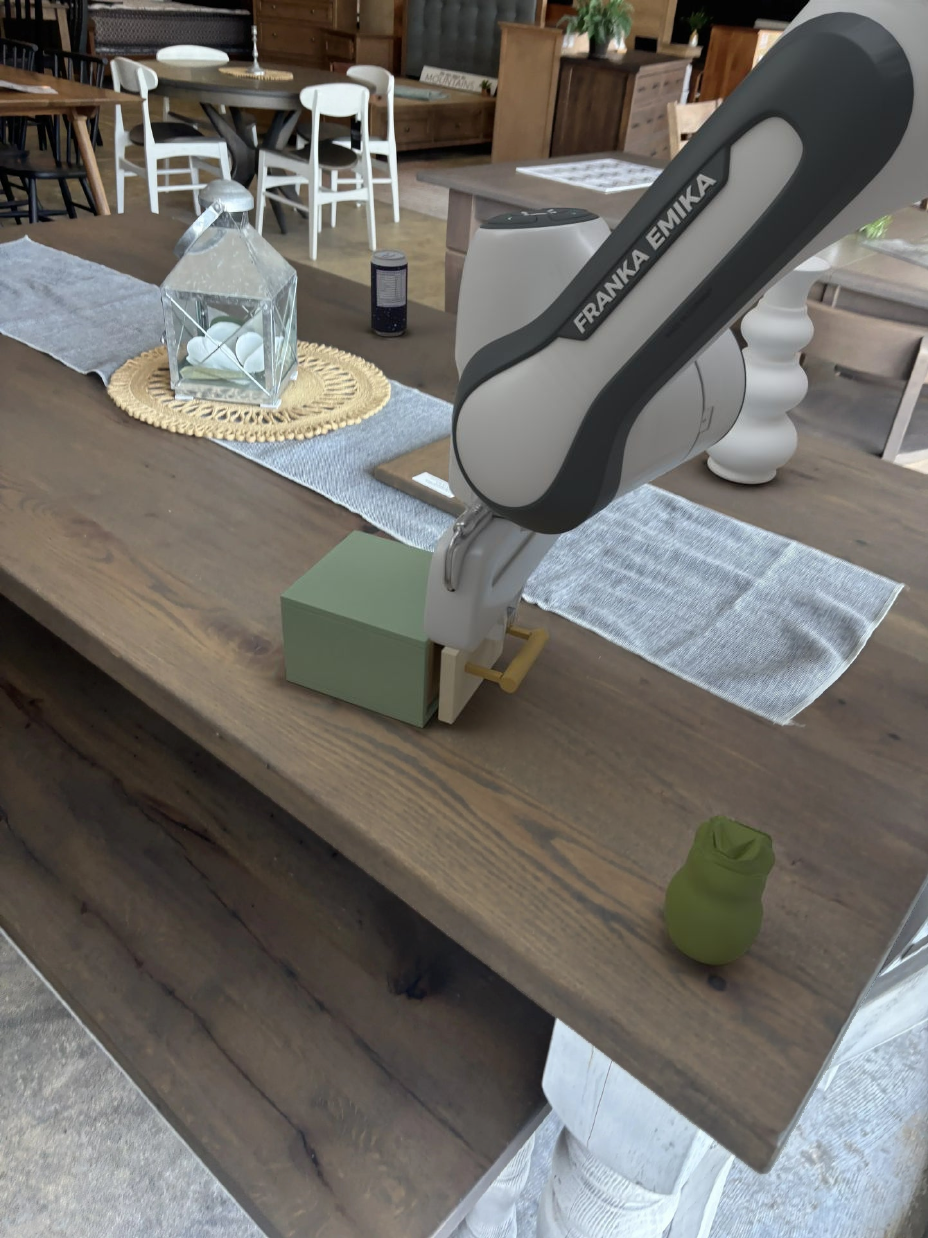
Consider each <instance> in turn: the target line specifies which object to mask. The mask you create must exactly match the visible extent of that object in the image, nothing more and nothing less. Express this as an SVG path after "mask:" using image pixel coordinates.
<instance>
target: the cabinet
mask: <svg viewBox="0 0 928 1238" xmlns="http://www.w3.org/2000/svg"><path fill="white" fill-rule="evenodd" d="M433 552H434V551H430V550H426V549H424V548H419V547H416V546H412V545H409V544H405V543H402V542H399V541H395V540H392V539H388V538H386V537H385V538H384V537H381V536H377V535H375V534H370V533H367V532H364V531H360V530H356V529H354V530H353V531H352V532H350V533H349V534H348V535H347V536H346V537H345V538H344V539H343V540H341V541H340V542H339V543H337V545H336V546H334V547H333V548H332V549H331V550H330V551H329V552H327V554H325V555H324V556H323V557H322V558H320V560H319V561H317V562H316V563H315V564H314V565H313V566H311V568H309V569H308V570H307V571H306V572H305V573H304V574H302V575H301V576H300V577H299V578H298V579H297V580H296V581H294V582H293V584H291V585H290V586H289V587H288V588H286V589H285V590H284V591H283V592H282V593H281V594H280V595H279V599H280V600H279V601H280V602H279V603H280V614H281V627H282V640H283V652H284V665H285V666H284V667H285V680H286V681H288V682H290V683H293V684H295V685H299V686H301V687H305V688H307V689H310V690H313V691H316V692H318V693H321V694H325V695H327V696H330V697H333V698H335V699H338V700H341V701H344V702H347V703H349V704H353V705H355V706H358V707H361V708H364V709H366V710H370V711H372V712H375V713H378V714H381V715H383V716H387V717H389V718H392V719H395V720H398V721H401V722H403V723H406V724H410V725H412V726H414V727H417V728H421V729H423V728H424V727H425V725H426V724H427V723H428V721H429V720H430V719H431V717H432V716H433V714H434V713H435V712H436V711H437V709H439V694H440V691H439V692H438V694H437V695H436V696H435V698H434V699H433V700H432V702H431V703H430V704H429V706H428V707H427V685H428V659H429V644H430V643H431V640H430V639H429V638H428V637H427V635H426V634H425V632H424V613H425V603H426V593H427V585H428V577H429V570H430V565H431V560H432V556H433Z"/></svg>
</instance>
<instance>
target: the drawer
mask: <svg viewBox="0 0 928 1238" xmlns="http://www.w3.org/2000/svg"><path fill="white" fill-rule="evenodd" d="M506 635H509V636H513V637H516V638H519V639H523V640H525V642H524V643H523V645H522V646H521V648H520V649H519V651H518V652H517V654H516V655H515V657H514V658H513V660H512V661H511V662H510V664H509V665H508V667H507V669H506V670H505V671H504V673H503V672H500V671H498V670H494V669H492V668H493V667H494V665H495V663H497V661H498V660H499V658H500V657H501V655H502V654H503V652H504V651H503V649H504V640H505V639H504V638H505V637H504V638H503V640H502V641H500V642H496V641H493V640H490V639H487V638H484V639H483V641H482V642H481V643H480V645H479V646H478V647H477V649H476V650H475V651H473V652H463V651H459V650H456V649H453V648H449V647H446V646H444V645H441V644H438V643H435V642H433V641H431V643H430V644H429V659H428V685H427V707H428V706H429V704H430V703H431V702H432V700H433V699H434V698H435V696H436V695H437V694H438V692H439V691H440V694H439V706H438V719H437V720H439V721H441V722H444V723H447V724H450V725H453V724H454V722H455V721H456V719H457V718H458V717H459V715H460V713H461V712H462V710H463V709H464V708H465V706H466V705H467V703H468V702H469V701H470V699H471V698H472V696H473V695H474V694H475V692H476V691H477V689H478V688H479V686H481V683H482V682H483V681H484V680H485V679H486V680H488V681H492V682H495V683H498V684H499V687H500V688H501V689H502V690H503V691H505V692H506V693H514V692H516V691H517V690H518V688H519V686H520V684H521V683H522V681H523V680H524V678H525V677H526V675H527V673H528V672H529V670H530V669H531V667H532V666H533V664H534V663H535V661H536V660H537V658H538V657H539V655H540V654H541V652H542V650H543V649H544V647H545V646H546V644H547V643H548V641H549V638H550V635H549V633H548V631H547V630H546V629H545V628H542V627H536V628H534V629H533V630H529V629H526V628H522V627H520V626H516V625H514V624H513V625H512V627H511V628H510V630H509V631H508V633H507V634H506Z"/></svg>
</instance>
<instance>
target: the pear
mask: <svg viewBox="0 0 928 1238" xmlns="http://www.w3.org/2000/svg"><path fill="white" fill-rule="evenodd" d="M775 853H776V852H775V851H774V848H773V839H772V836H771V835H769V834H768V833H766V832H763V831H761V830H759V829H756V828H754V827H751V826H749V825H746V824H744V823H742V822H738V821H736V820H733V819H731V818H728V817H726V816H724V815H722V814H717V815H714V816H712V817H711V818H709V820H708V821H705V822H702V823H700V825H699V826H698V828H697V829H696V831H695V834H694V839H693V843H692V845H691V847H690V849H689V850H688V854H687V856H686V860H685V862H684V865H683V866H682V867H680V868H679V869H678V870H677V871H676V872H675V873H674V874H673V876H672V877H671V879H670V881H669V883H668V885H667V888H666V891H665V895H664V902H663V917H664V925H665V928H666V931H667V933H668V935H669V937H670V940H671V941H672V943H673V944H674V945H675V947H677V949H678V950H680V951H681V952H682V953H683V954H684V955H686V956H687V957H689V958H690V959H692V960H694V961H696V962H699V963H702V964H707V965H713V966H714V965H715V966H716V965H720V966H721V965H726V964H728V963H731V962H734V961H736V960H737V959H739V958H740V957H742V956H743V955H744V954H745V953H746V952H747V951H748V950H749V949H750V948H751V947H752V945H754V942H755V940H756V939H757V937H758V935H759V933H760V931H761V928H762V923H763V919H764V906H763V901H762V896H763V895H764V891H765V888H766V884H767V879H768V876H769V874H770V873H771V871H772V870H773V868H774V866H775V863H776V854H775Z"/></svg>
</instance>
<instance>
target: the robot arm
mask: <svg viewBox="0 0 928 1238" xmlns="http://www.w3.org/2000/svg"><path fill="white" fill-rule="evenodd" d="M926 199H928V0H809V1H808V3H807V4H806V5H805V6H804V7H803V8H802V9H801V10H800V11H799V13H798V14H797V15H796V16H795V17H794V18H793V20H792V21H791V22H790V23H789V25H787V27H786V28H784V31H782V32H781V34H780V35H779V36H778V37H777V39H775V41H774V42H773V43H772V45H770V47H769V48H768V49H767V51H766V52H765V53H764V55H763V56H762V57H761V58H760V59H759V61H758V62H757V63H756V64H755V65H754V67H752V69H751V70H750V71H749V73H747V75H745V77H744V78H743V79H742V81H741V82H740V83H739V84H738V85H737V86H736V87H735V88H734V89H733V90H732V91H731V93H729V94H728V96H727V97H726V98H725V99H724V100H723V101H722V102H721V103H720V104H719V106H718V107H717V108H715V110H714V111H713V112H712V113H711V114H710V115H709V117H707V119H706V120H705V121H704V122H703V123H702V124H701V125H700V126H699V128H698V129H697V130H696V131H695V132H694V134H693V135H692V136H690V137H689V140H688V141H687V142H686V143H685V144H684V146H682V148H681V149H680V150H679V151H678V152H677V153H676V155H675V156H674V157H673V158H672V160H671V161H670V162H669V163H668V164H667V165H666V166H665V168H664V169H663V170H662V171H661V172H660V174H659V175H658V176H657V177H656V178H655V179H654V181H653V182H652V183H651V185H649V187H648V188H647V189H646V190H645V192H644V193H643V194H642V195H641V196H640V198H639V199H638V200H637V201H636V202H635V204H634V205H633V206H632V207H631V209H630V210H629V211H628V212H627V213H626V215H625V216H624V217H623V218H622V219H621V221H620V222H619V223H618V224H617V225H616V226H615V227H614V229H613V230H612V231H611V229H610V227H609V225H608V223H607V222H606V220H605V219H604V218H603V217H602V216H600V215H599V214H597V213H595V212H592V211H589V210H587V209H584V208H580V207H579V208H577V207H543V208H541V209H530V210H529V209H525V210H519V211H514V212H508V213H504V214H499V215H496V216H493V217H491V218H489V219H488V220H485V222H483V224H481V225H480V226H478V227H477V229H476V230H475V232H474V234H473V236H472V238H471V240H470V243H469V245H468V248H467V253H466V256H465V259H464V264H463V267H462V268H463V269H462V275H461V280H460V285H459V293H458V302H457V312H456V313H457V314H456V325H455V341H454V343H455V345H454V359H455V365H456V369H457V373H458V379H459V382H458V385H457V387H456V392H455V396H454V401H453V405H452V406H453V407H452V414H451V424H450V425H451V427H450V442H449V443H450V444H449V465H448V483H447V484H448V488H449V490H450V493H451V494H452V495H453V496H454V497H455V498H456V499H457V500H458V501H459V502H460V503H461V504H463V505H464V507H465V510H464V511H463V513H461V514H460V515H459V516H458V517H457V519H455V521H453V522H452V524H451V525H450V526H448V528H446V530H445V531H443V534H442V535H441V536H440V537H439V539H438V541H437V542H436V545H435V547H434V550H433V551H432V552H433V556H432V560H431V565H430V570H429V577H428V585H427V593H426V603H425V613H424V632H425V634H426V635H427V637H428V638H429V639H430V640H431V641H433V642H435V643H438V644H441V645H444V646H446V647H449V648H453V649H456V650H459V651H463V652H473V651H475V650H476V649H477V647H478V646H479V645H480V643H481V642H482V641H483V639H484V638H487V639H490V640H493V641H496V642H500V641H502V640H503V638H505V637H506V636H507V635H508V634H507V633H508V631H509V630H510V628H511V627H512V625H513V626H514V625H515V623H516V622H517V620H518V614H519V605H520V603H521V600H522V597H523V594H524V591H525V588H526V585H527V583H528V580H529V579H530V578H531V576H532V575H533V574H534V572H535V571H536V569H537V568H538V567H539V565H540V564H541V563H542V561H543V560H544V559H545V558H546V556H547V555H548V553H549V552H550V551H551V549H552V548H553V547H554V546H555V544H556V542H557V541H558V540H559V538H560V537H561V535H563V534H566V533H568V532H571V531H573V530H574V529H576V528H578V527H579V526H581V525H582V524H584V523H585V522H587V521H588V520H589V519H591V518H592V517H594V516H595V515H597V514H599V513H600V512H601V511H603V510H605V509H606V508H607V507H608V506H609V505H610V504H612V503H613V502H615V501H617V500H618V499H621V498H622V497H624V496H625V495H628V494H630V493H631V492H633V491H635V490H638V489H639V488H641V487H642V486H644V485H646V484H648V483H651V482H652V481H653V480H656V479H657V478H659V477H661V476H663V475H665V474H667V473H668V472H670V471H672V470H673V469H675V468H677V467H679V466H681V465H683V464H684V463H686V462H688V461H690V460H692V459H693V458H696V457H697V456H699V455H701V454H703V453H704V452H705V451H706V450H707V449H708V448H709V447H711V446H713V445H714V444H716V443H718V442H719V441H720V440H722V439H723V438H724V437H725V436H726V435H727V434H728V433H729V431H730V430H731V429H732V428H733V426H734V424H735V423H736V421H737V419H738V417H739V415H740V412H741V410H742V407H743V403H744V399H745V393H746V366H745V361H744V356H743V353H742V350H743V349H742V346H741V344H740V342H739V339H738V337H737V336H736V334H735V332H734V330H733V328H732V326H733V325H734V324H735V323H736V322H737V321H738V320H739V319H740V318H741V317H742V316H743V315H744V314H745V313H747V311H749V309H750V308H751V307H752V306H753V305H754V304H755V303H756V302H757V301H759V300H760V299H761V298H762V297H763V296H764V293H766V292H767V291H768V290H769V289H770V288H771V287H772V286H773V285H775V284H776V283H777V282H778V281H779V280H781V279H782V278H783V277H784V276H786V275H787V274H788V273H790V272H791V271H792V270H794V269H795V268H796V267H798V266H799V265H800V264H802V263H803V262H805V261H806V260H808V259H809V258H811V257H812V256H815V255H817V254H818V253H820V252H822V251H823V250H825V249H827V248H828V247H830V246H831V245H834V244H835V243H837V242H838V241H840V240H842V239H844V238H846V237H847V236H849V235H851V234H853V233H855V232H856V231H858V230H861V229H862V228H864V227H866V226H868V225H871V224H872V223H876V221H879V220H881V219H883V218H885V217H888V216H889V215H891V214H894V213H896V212H899V211H900V210H902V209H905V208H908V207H910V206H912V205H914V204H916V203H918V202H921V201H924V200H926Z"/></svg>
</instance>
